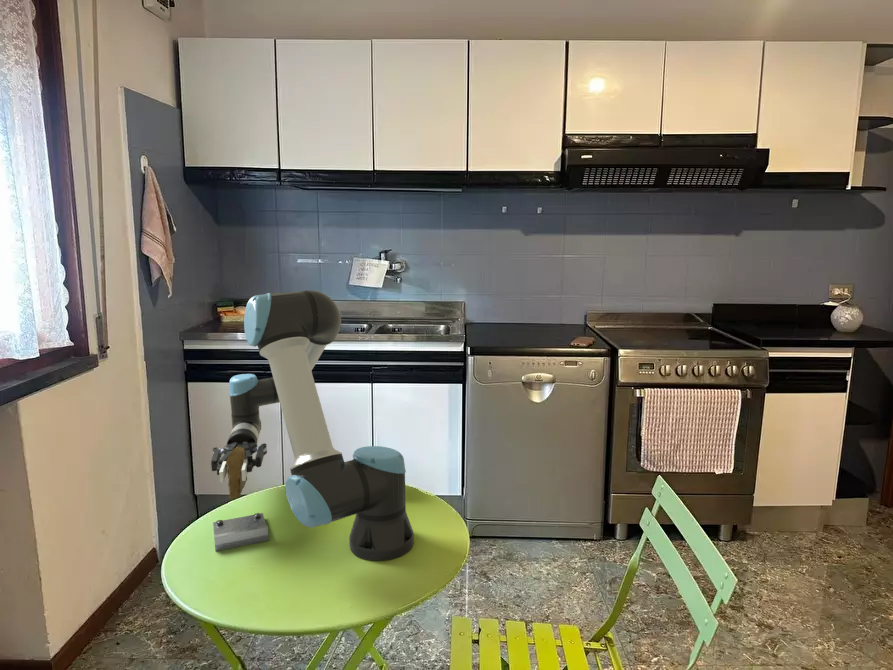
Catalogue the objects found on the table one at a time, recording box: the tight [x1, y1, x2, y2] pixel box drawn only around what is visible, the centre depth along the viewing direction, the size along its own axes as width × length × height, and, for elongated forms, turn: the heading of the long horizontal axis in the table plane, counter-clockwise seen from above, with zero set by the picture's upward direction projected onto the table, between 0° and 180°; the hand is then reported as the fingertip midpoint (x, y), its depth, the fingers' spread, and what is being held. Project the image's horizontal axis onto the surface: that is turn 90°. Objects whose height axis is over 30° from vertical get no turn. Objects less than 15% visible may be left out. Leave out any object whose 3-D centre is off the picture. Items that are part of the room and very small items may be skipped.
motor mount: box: [212, 512, 270, 552], centre depth 147 cm, size 12×12×4 cm
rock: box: [226, 446, 248, 499], centre depth 145 cm, size 11×9×10 cm
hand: (232, 476), depth 140 cm, fingers closed on rock, 4 cm apart
